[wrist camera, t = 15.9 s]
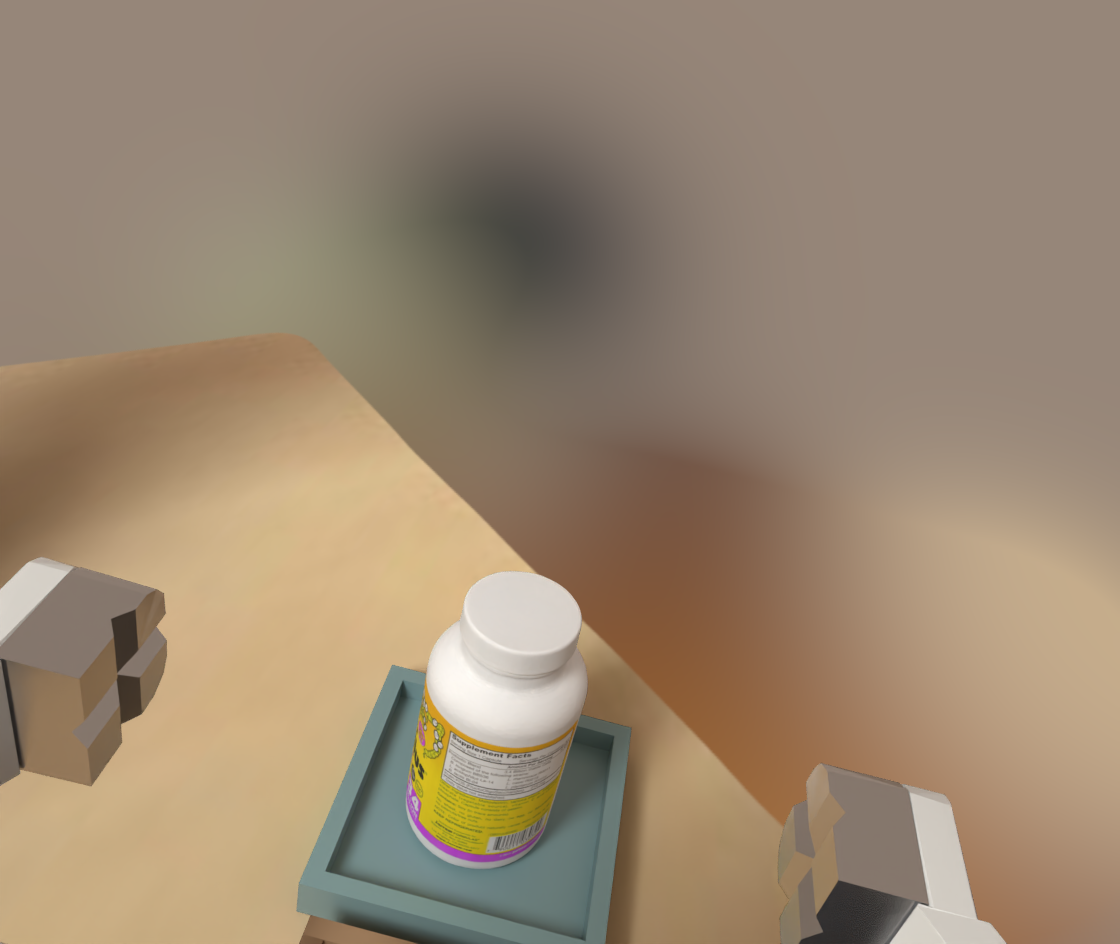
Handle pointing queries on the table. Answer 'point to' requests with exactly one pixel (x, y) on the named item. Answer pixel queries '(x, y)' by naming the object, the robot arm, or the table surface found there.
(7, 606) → the robot arm
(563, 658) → the supplement bottle
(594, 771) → the tray
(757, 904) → the table surface
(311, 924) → the brown wooden tray
